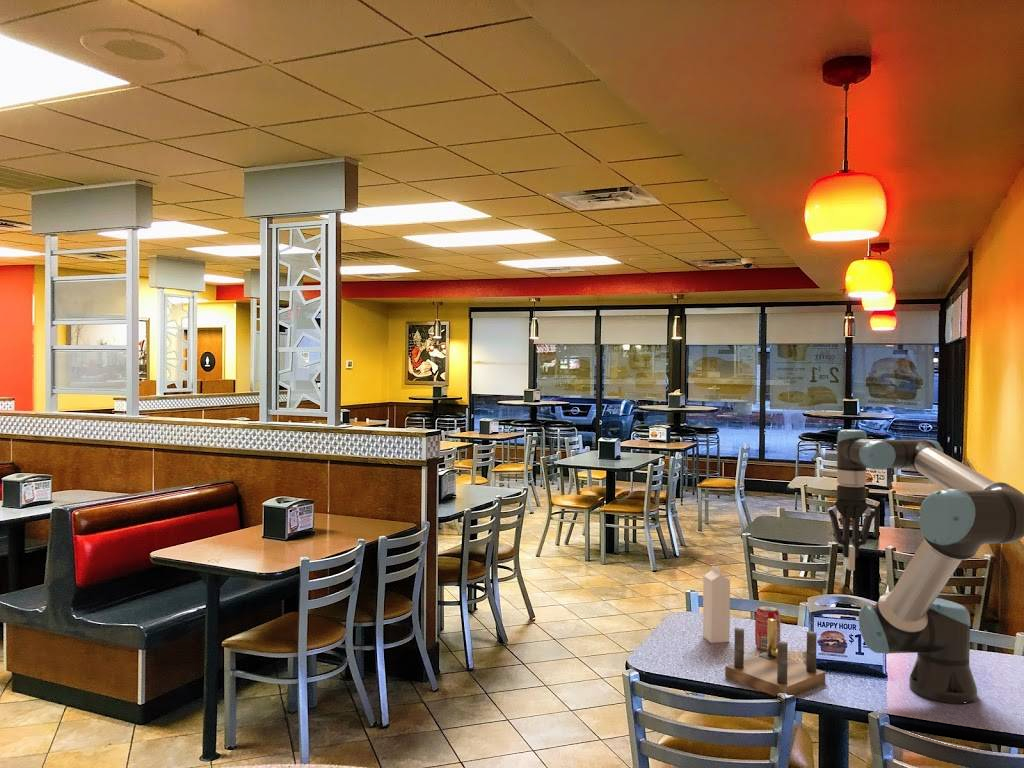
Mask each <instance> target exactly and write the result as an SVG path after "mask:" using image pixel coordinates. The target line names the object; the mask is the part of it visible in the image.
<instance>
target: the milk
mask: <svg viewBox="0 0 1024 768" xmlns="http://www.w3.org/2000/svg"><path fill="white" fill-rule="evenodd" d="M702 577H703V579H702V580H703V582H702V585H703V586H702V587H703V588H702V589H703V591H702V595H703V596H702V601H703V602H702V603H703V604H702V637H703V638H704V639H705V640H706V641H708V642H709V643H711V644H714V643H715V644H717V643H729V642H730V633H731V631H730V629H731V627H730V625H731V623H730V619H731V615H730V614H731V613H730V612H731V579H730V578H728V577H726V576H724V575H723V574H722V569H721V568H719V567H717V566H715V565H711V570H710V571H709V572H707V573H704V574H703V575H702Z"/></svg>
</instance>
